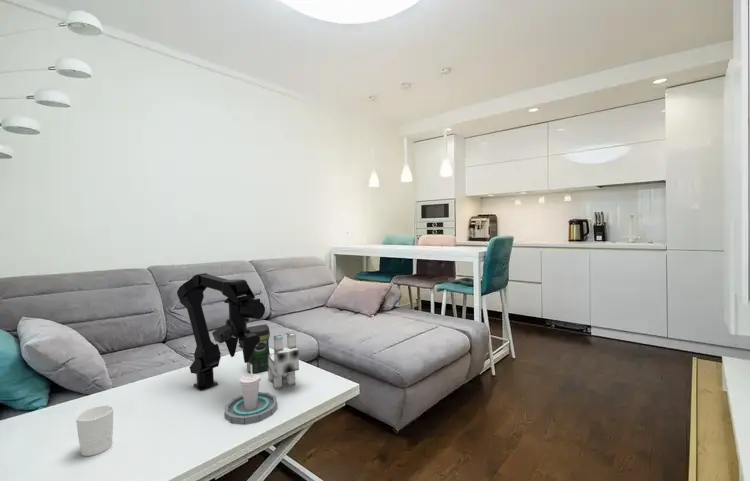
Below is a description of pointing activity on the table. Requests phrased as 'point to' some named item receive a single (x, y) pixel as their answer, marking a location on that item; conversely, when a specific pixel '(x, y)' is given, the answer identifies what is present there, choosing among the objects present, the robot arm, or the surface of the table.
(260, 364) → the coffee jar
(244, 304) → the robot arm
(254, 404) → the smoothie
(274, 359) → the toy llama
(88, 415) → the white cup
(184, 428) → the table surface
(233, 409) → the tray
